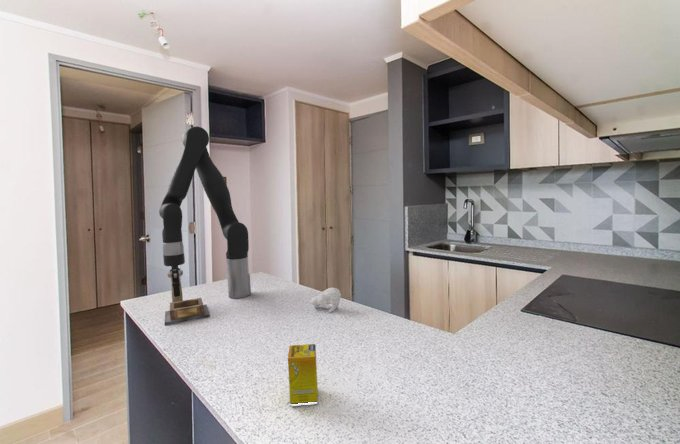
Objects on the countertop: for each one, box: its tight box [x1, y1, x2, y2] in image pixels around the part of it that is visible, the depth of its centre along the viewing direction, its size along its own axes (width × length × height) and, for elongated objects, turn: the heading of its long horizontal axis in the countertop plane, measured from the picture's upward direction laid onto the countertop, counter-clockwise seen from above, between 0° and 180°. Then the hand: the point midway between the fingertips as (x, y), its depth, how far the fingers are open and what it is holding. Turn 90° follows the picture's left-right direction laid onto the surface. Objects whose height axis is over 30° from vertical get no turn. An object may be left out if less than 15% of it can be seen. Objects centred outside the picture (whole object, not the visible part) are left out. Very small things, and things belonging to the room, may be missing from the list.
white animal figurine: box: [311, 287, 342, 313], centre depth 127 cm, size 6×8×12 cm
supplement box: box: [287, 343, 319, 404], centre depth 72 cm, size 6×6×11 cm
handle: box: [167, 269, 184, 303], centre depth 133 cm, size 5×6×15 cm
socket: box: [164, 297, 211, 326], centre depth 125 cm, size 15×13×4 cm
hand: (177, 294), depth 133 cm, fingers closed on handle, 4 cm apart
